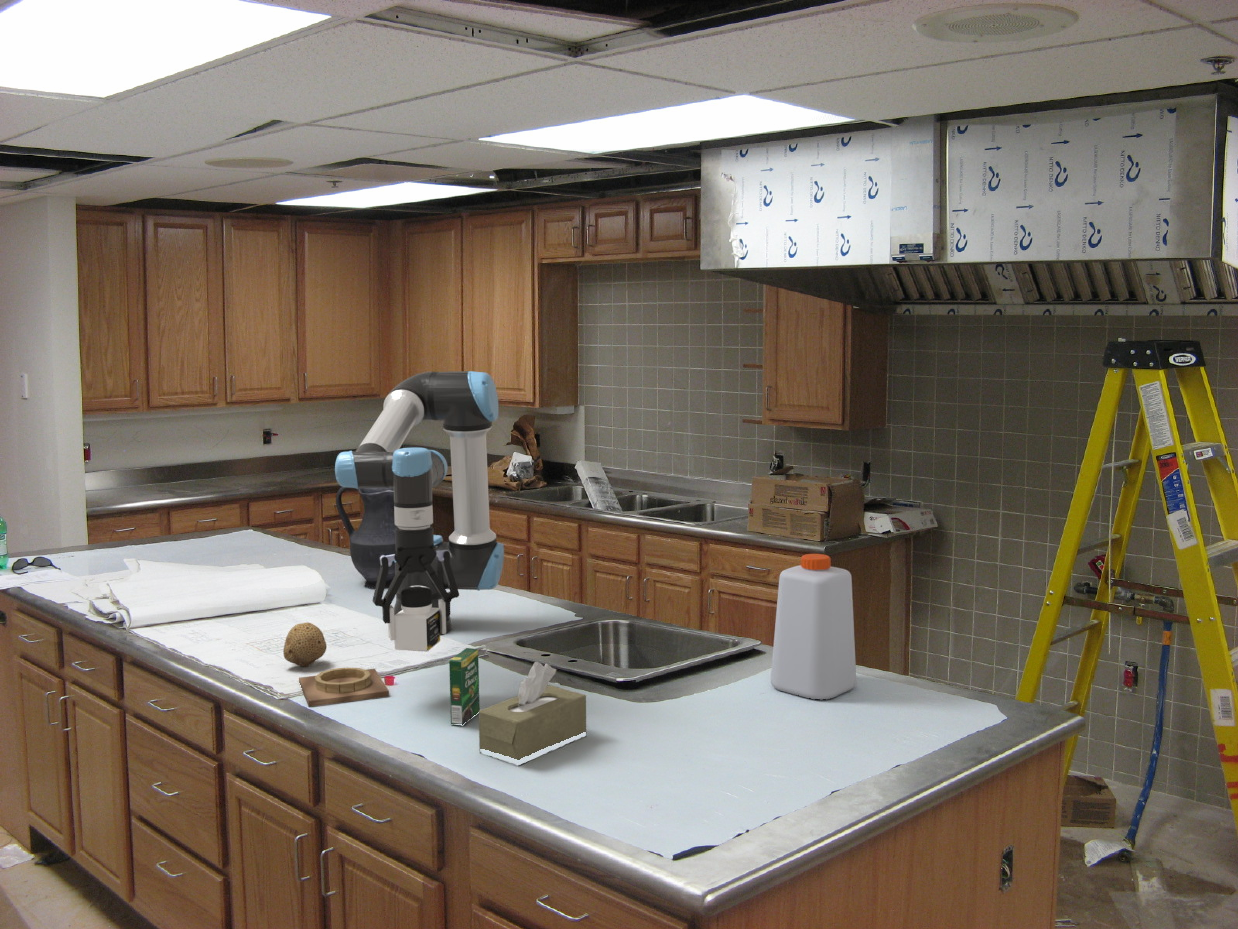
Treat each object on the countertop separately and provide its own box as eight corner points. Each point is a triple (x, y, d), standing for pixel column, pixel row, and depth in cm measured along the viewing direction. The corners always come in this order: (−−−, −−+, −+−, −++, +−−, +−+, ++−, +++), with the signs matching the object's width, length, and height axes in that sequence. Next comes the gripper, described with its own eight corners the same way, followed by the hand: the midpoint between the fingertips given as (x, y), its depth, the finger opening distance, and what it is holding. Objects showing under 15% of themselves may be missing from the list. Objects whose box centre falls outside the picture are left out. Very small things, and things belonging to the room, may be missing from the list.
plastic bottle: (762, 688, 231) (764, 556, 228) (802, 671, 242) (805, 546, 239) (824, 705, 221) (827, 567, 218) (863, 686, 232) (867, 555, 229)
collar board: (374, 673, 241) (374, 660, 241) (389, 696, 227) (388, 682, 226) (299, 683, 235) (298, 669, 235) (308, 707, 221) (308, 692, 220)
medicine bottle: (428, 652, 219) (426, 593, 217) (394, 650, 220) (392, 591, 218) (440, 641, 226) (439, 584, 224) (408, 639, 227) (406, 582, 225)
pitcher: (404, 592, 314) (401, 488, 311) (331, 592, 315) (327, 488, 311) (416, 578, 332) (413, 479, 328) (346, 578, 332) (343, 479, 328)
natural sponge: (336, 664, 249) (334, 620, 247) (309, 675, 241) (307, 630, 239) (304, 658, 252) (302, 616, 251) (277, 670, 244) (275, 625, 243)
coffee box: (463, 727, 209) (461, 660, 208) (449, 726, 210) (447, 659, 208) (481, 713, 217) (479, 648, 215) (467, 712, 218) (466, 647, 216)
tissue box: (517, 768, 191) (515, 679, 189) (477, 754, 197) (475, 668, 195) (588, 736, 205) (587, 653, 203) (549, 724, 211) (548, 644, 209)
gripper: (360, 534, 212) (364, 647, 215) (473, 525, 220) (476, 633, 223) (354, 527, 219) (358, 636, 222) (464, 518, 227) (466, 624, 230)
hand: (417, 635), depth 223 cm, fingers closed on medicine bottle, 10 cm apart
